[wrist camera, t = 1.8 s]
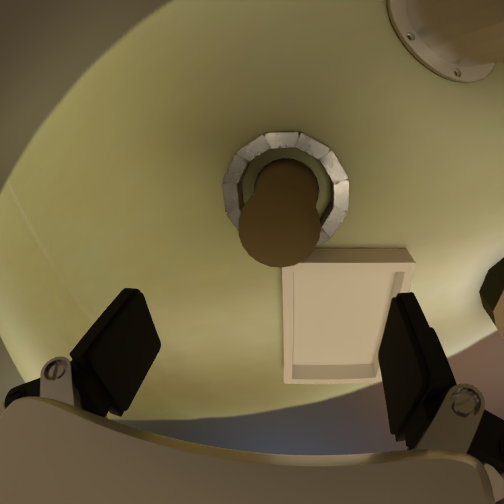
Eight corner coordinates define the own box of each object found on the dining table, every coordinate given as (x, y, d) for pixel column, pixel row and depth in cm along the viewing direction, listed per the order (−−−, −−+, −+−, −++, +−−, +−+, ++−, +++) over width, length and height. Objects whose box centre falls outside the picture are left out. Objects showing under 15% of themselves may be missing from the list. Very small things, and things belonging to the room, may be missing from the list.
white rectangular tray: (283, 248, 29) (281, 262, 26) (406, 248, 26) (415, 262, 24) (285, 366, 37) (284, 383, 34) (377, 365, 34) (380, 381, 32)
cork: (325, 167, 24) (342, 201, 15) (310, 226, 27) (313, 291, 18) (260, 152, 25) (233, 177, 15) (249, 212, 28) (220, 270, 18)
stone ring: (223, 135, 25) (217, 137, 23) (344, 131, 23) (348, 132, 21) (234, 243, 29) (230, 252, 28) (343, 243, 27) (345, 253, 26)
